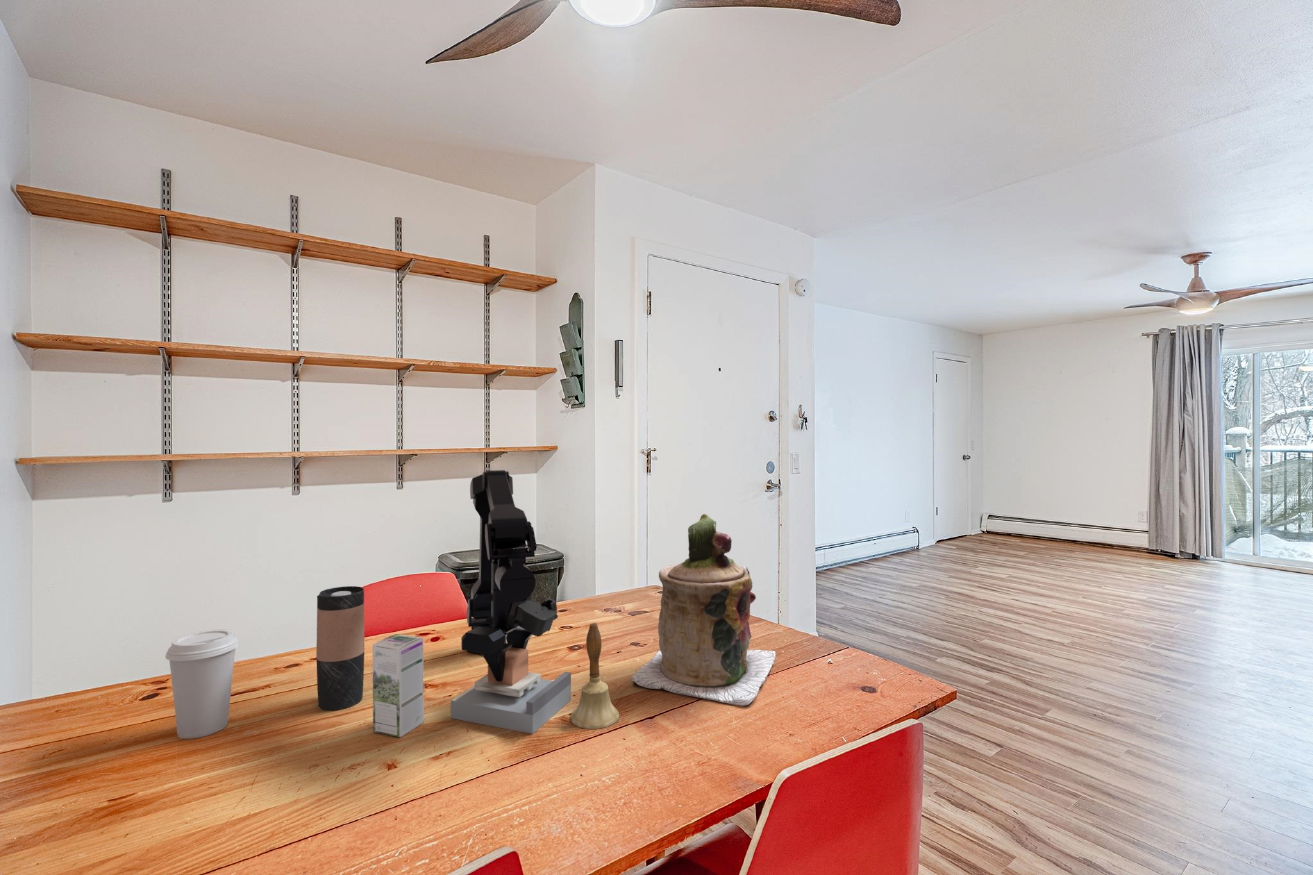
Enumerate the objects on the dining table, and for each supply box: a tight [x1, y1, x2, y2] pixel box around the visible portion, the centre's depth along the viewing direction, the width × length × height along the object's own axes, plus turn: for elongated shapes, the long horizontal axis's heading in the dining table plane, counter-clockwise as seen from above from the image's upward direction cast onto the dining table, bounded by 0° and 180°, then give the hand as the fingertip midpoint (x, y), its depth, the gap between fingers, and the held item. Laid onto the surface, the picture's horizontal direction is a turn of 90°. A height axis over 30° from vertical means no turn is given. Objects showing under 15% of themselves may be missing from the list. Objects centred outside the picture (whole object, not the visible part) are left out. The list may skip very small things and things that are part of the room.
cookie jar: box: [630, 513, 776, 706], centre depth 118 cm, size 25×25×32 cm
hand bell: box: [570, 622, 620, 730], centre depth 99 cm, size 8×8×16 cm
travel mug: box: [315, 585, 365, 712], centre depth 105 cm, size 8×8×20 cm
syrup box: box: [372, 633, 425, 738], centre depth 96 cm, size 6×6×14 cm
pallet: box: [474, 647, 542, 697], centre depth 103 cm, size 9×7×6 cm
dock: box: [450, 671, 572, 735], centre depth 102 cm, size 16×13×5 cm
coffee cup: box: [165, 629, 240, 740], centre depth 95 cm, size 10×10×15 cm
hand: (508, 675), depth 103 cm, fingers closed on pallet, 5 cm apart
